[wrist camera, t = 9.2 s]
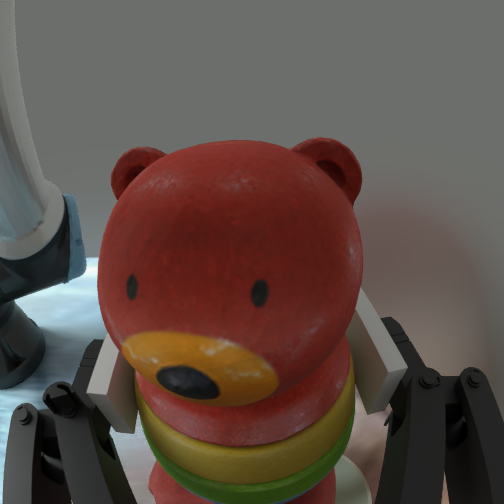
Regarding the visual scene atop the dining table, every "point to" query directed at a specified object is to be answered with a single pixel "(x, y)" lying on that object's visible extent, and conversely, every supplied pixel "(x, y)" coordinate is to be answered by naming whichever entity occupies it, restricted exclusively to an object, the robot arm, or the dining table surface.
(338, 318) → the stacking bear
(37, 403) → the dining table surface
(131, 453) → the dining table surface
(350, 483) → the stand
